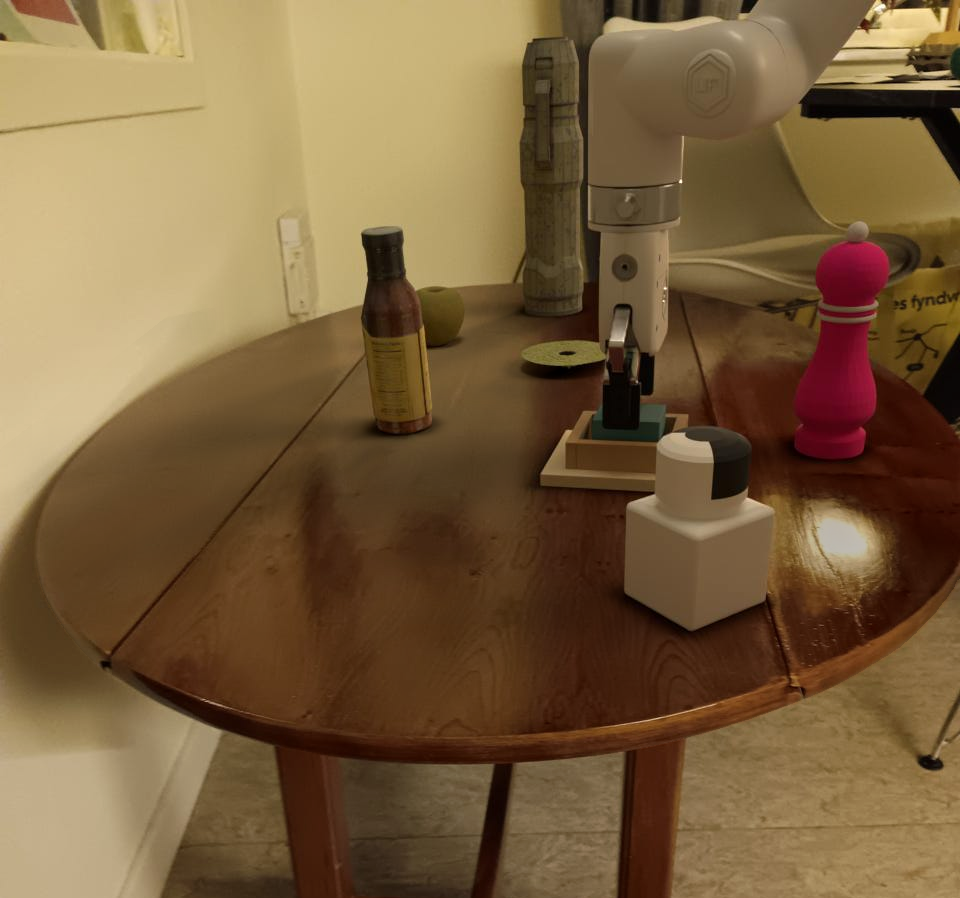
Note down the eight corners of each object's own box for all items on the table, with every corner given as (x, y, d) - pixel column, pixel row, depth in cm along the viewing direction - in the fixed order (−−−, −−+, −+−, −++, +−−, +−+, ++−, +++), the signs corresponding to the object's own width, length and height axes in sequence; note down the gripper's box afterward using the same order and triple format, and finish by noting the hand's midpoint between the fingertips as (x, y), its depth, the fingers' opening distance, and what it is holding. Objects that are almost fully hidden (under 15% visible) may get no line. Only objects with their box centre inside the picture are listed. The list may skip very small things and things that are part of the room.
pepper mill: (885, 449, 93) (923, 219, 82) (834, 468, 89) (867, 231, 79) (822, 430, 98) (851, 212, 88) (772, 447, 94) (796, 223, 84)
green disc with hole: (602, 382, 115) (602, 365, 114) (510, 378, 119) (509, 362, 118) (621, 356, 125) (621, 341, 124) (535, 353, 128) (535, 338, 127)
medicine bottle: (695, 566, 74) (706, 410, 68) (767, 602, 69) (785, 436, 63) (621, 594, 71) (625, 433, 65) (690, 634, 66) (702, 463, 60)
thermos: (519, 320, 144) (511, 39, 126) (528, 302, 154) (521, 39, 136) (580, 319, 143) (581, 35, 125) (585, 300, 153) (585, 35, 135)
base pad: (708, 447, 95) (711, 409, 94) (698, 495, 86) (701, 454, 84) (566, 441, 99) (565, 405, 97) (540, 486, 89) (539, 447, 87)
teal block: (664, 446, 93) (666, 404, 91) (658, 465, 89) (659, 422, 87) (600, 443, 94) (601, 402, 92) (591, 462, 90) (592, 419, 88)
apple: (477, 342, 135) (474, 287, 131) (431, 354, 130) (426, 298, 127) (442, 333, 140) (439, 280, 136) (397, 345, 135) (392, 290, 132)
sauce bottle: (400, 414, 109) (381, 221, 99) (445, 422, 106) (430, 224, 96) (361, 432, 105) (337, 232, 94) (407, 441, 101) (387, 235, 91)
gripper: (668, 223, 73) (659, 445, 82) (690, 191, 87) (680, 384, 96) (568, 224, 75) (569, 441, 83) (605, 193, 89) (603, 382, 98)
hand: (628, 410), depth 90 cm, fingers open, 9 cm apart
